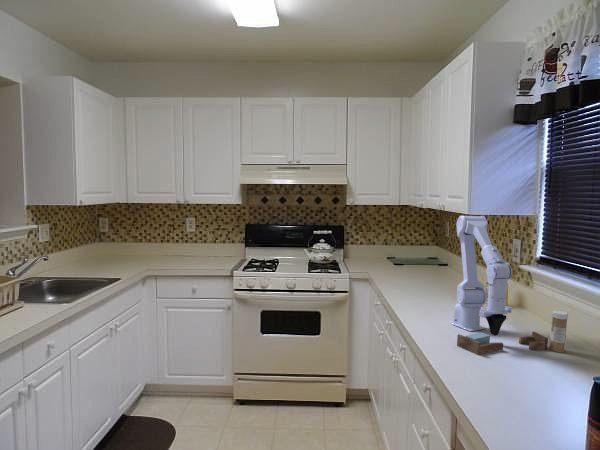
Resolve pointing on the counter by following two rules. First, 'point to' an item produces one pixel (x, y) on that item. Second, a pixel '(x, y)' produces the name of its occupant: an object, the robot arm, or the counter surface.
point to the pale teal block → (480, 338)
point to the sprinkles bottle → (558, 330)
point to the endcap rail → (477, 345)
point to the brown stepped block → (534, 341)
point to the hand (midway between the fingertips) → (494, 334)
